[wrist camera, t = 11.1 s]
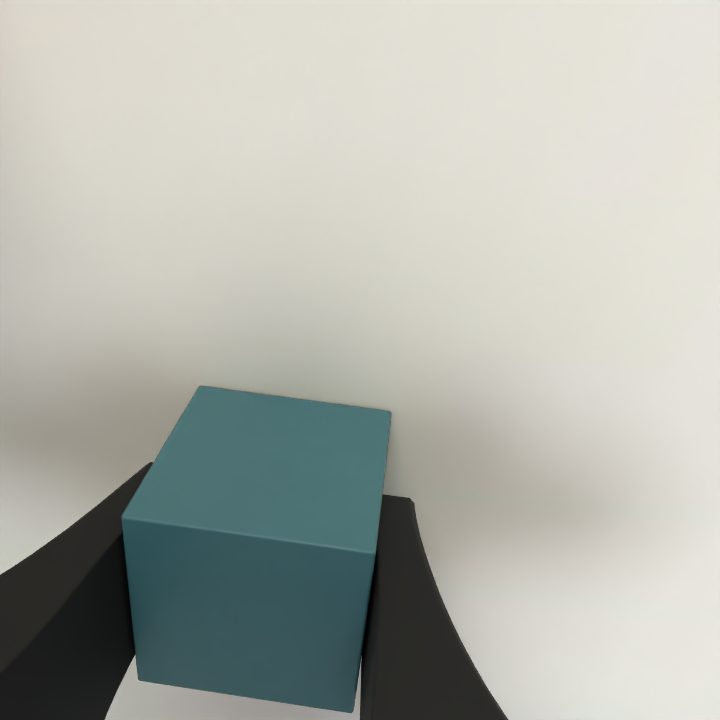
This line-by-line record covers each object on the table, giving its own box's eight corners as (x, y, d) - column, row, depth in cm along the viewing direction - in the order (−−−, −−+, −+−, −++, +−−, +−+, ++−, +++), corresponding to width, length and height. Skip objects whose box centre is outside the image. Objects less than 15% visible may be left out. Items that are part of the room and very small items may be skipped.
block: (372, 554, 16) (353, 714, 12) (203, 530, 16) (136, 681, 13) (392, 410, 14) (375, 553, 10) (199, 384, 14) (119, 516, 11)
